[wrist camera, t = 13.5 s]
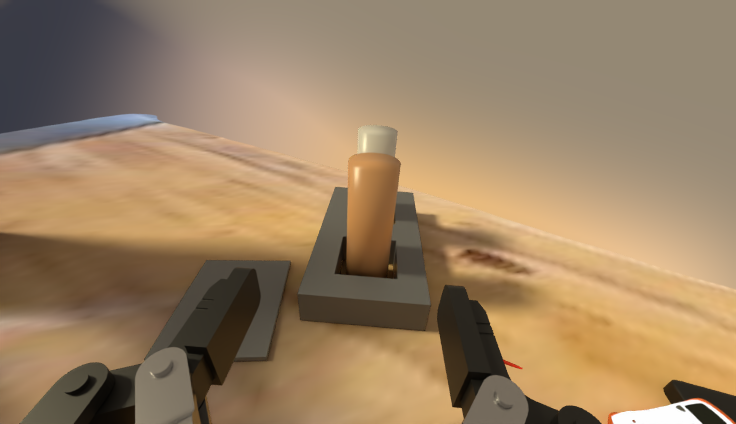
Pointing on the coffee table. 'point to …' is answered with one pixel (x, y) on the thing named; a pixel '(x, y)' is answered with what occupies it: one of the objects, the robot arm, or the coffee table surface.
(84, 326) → the coffee table surface
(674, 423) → the multimeter
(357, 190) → the peg
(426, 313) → the housing
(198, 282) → the lid plate
